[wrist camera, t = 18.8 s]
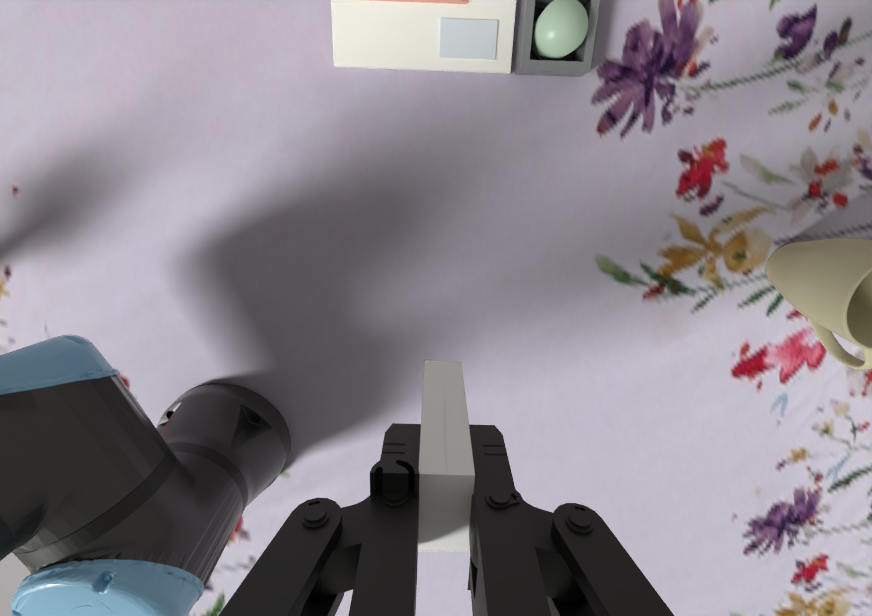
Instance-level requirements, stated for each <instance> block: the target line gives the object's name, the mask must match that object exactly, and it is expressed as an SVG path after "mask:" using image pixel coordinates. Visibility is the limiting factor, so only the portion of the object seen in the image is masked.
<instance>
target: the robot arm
mask: <svg viewBox="0 0 872 616" xmlns="http://www.w3.org/2000/svg"><path fill="white" fill-rule="evenodd" d="M119 374H120V373H119V371H118V370H117V369H113V368H112V367H111V366H110V364H109V363H108V362H107V361H106V359H105V358H104V357H103V356H102V354H101V353H100V352H99V351H98V349H97V348H96V347H95V346H94V345H93V344H92V342H90V341H89V340H87V339H85V338H83V337H80V336H76V335H62V336H58V337H54V338H51V339H48V340H45V341H42V342H39V343H36V344H33V345H30V346H27V347H24V348H21V349H18V350H15V351H12V352H9V353H6V354H3V355H0V561H1V560H2V559H3V558H5V557H6V556H7V555H8V554H10V553H11V552H13V553H14V554H15V555H16V556H17V557H18V558H19V560H21V562H22V563H23V564H24V565H25V566H26V567H27V568H28V569H29V571H30V572H31V575H29V576H27V577H26V578H25V579H24V580H23V581H22V582H21V583H20V584H19V587H18V588H17V592H16V593H15V595H14V596H13V599H12V601H11V608H12V616H187V615H188V614H189V612H190V610H191V609H192V607H193V605H194V604H195V602H196V601H198V600H199V598H200V597H201V596H202V593H203V591H204V587H205V585H206V584H207V582H208V580H209V578H210V576H211V574H212V572H213V570H214V568H215V566H216V564H217V562H218V560H219V558H220V556H221V554H222V552H223V550H224V548H225V546H226V544H227V542H228V540H229V538H230V536H231V535H232V533H233V531H234V529H235V527H236V525H237V523H238V521H239V519H240V517H241V515H242V513H243V511H244V509H245V507H246V506H247V505H248V504H250V503H251V502H252V501H253V500H254V499H255V498H256V497H257V496H258V495H259V494H260V493H261V492H262V491H264V490H265V489H266V488H267V487H269V486H270V485H271V484H272V483H273V482H274V481H275V480H276V478H277V477H278V475H279V474H280V472H281V470H282V468H283V466H284V464H285V462H286V460H287V458H288V455H289V451H290V436H289V431H288V428H287V426H286V423H285V422H284V420H283V418H282V416H281V415H280V414H279V412H278V411H277V410H276V409H275V408H274V407H273V406H272V405H271V404H270V403H269V402H268V401H267V400H265V399H264V398H262V397H261V396H259V395H258V394H256V393H254V392H252V391H250V390H247V389H245V388H241V387H238V386H234V385H228V384H209V385H203V386H199V387H196V388H193V389H191V390H189V391H187V392H186V393H184V394H183V395H181V396H180V397H179V398H178V399H177V400H176V401H175V402H174V403H173V404H172V405H171V406H170V407H169V408H168V409H167V410H166V411H165V413H164V414H163V416H162V417H161V419H160V421H159V423H158V426H157V428H155V427H154V425H153V424H152V422H151V421H150V419H149V418H148V416H147V415H146V414H145V412H144V411H143V409H142V408H141V406H140V405H139V404H138V402H137V401H136V399H135V398H134V396H133V395H132V394H131V392H130V391H129V389H128V388H127V386H126V385H125V384H124V382H123V381H122V379H121V378H120V376H119ZM469 544H470V555H471V556H470V568H469V581H468V590H471V598H472V611H473V616H674V615H673V613H672V612H671V611H670V609H669V608H668V607H667V605H666V604H665V603H664V601H663V600H662V599H661V597H660V596H659V595H658V593H657V592H656V591H655V589H654V588H653V587H652V585H651V584H650V583H649V581H648V580H647V579H646V577H645V576H644V574H643V573H642V572H641V570H640V569H639V568H638V566H637V565H636V564H635V562H634V561H633V560H632V558H631V557H630V556H629V554H628V553H627V552H626V550H625V549H624V548H623V546H622V545H621V544H620V542H619V541H618V540H617V538H616V537H615V535H614V534H613V533H612V531H611V530H610V529H609V527H608V526H607V525H606V523H605V522H604V521H603V519H602V518H601V517H600V516H599V515H598V514H597V513H596V512H595V511H593V510H592V509H590V508H588V507H586V506H584V505H580V504H576V503H566V504H563V505H560V506H558V508H557V509H556V510H555V511H554V513H552V512H548V511H545V510H541V509H538V508H536V507H533V506H531V505H530V504H528V503H526V502H525V501H524V500H523V499H522V497H521V495H520V493H519V492H517V491H516V489H515V486H514V482H513V478H512V473H511V469H510V465H509V460H508V456H507V452H506V447H505V443H504V439H503V435H502V434H501V432H500V431H499V430H498V429H497V428H496V427H495V425H469V421H468V413H467V405H466V396H465V388H464V379H463V371H462V363H461V361H436V360H424V378H423V397H422V416H421V424H392V425H391V426H390V428H389V429H388V430H387V431H386V432H385V437H384V442H383V448H382V454H381V459H380V461H378V462H377V463H376V464H375V465H374V466H373V467H372V469H371V471H370V496H369V497H368V498H366V499H365V500H363V501H362V502H360V503H358V504H355V505H352V506H347V507H343V508H340V506H339V505H338V504H337V503H336V502H335V501H333V500H330V499H328V498H315V499H311V500H307V501H305V502H304V503H302V504H300V505H299V506H298V507H297V508H296V509H295V510H294V511H293V512H292V513H291V514H290V516H289V517H288V519H287V520H286V521H285V523H284V524H283V526H282V527H281V528H280V530H279V531H278V533H277V534H276V535H275V537H274V538H273V540H272V541H271V542H270V544H269V545H268V547H267V548H266V550H265V551H264V552H263V554H262V555H261V557H260V558H259V559H258V561H257V562H256V564H255V565H254V566H253V568H252V569H251V571H250V572H249V573H248V575H247V576H246V578H245V579H244V581H243V582H242V583H241V585H240V586H239V588H238V589H237V590H236V592H235V593H234V595H233V596H232V597H231V599H230V600H229V602H228V603H227V604H226V606H225V607H224V609H223V610H222V612H221V613H220V614H219V616H335V614H336V612H337V609H338V607H339V605H340V603H341V601H342V599H343V596H344V592H346V591H349V590H352V589H353V595H352V600H351V606H350V611H349V616H415V609H416V585H417V555H418V551H438V552H469Z"/></svg>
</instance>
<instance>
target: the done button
mask: <svg viewBox="0 0 872 616" xmlns="http://www.w3.org/2000/svg"><path fill="white" fill-rule="evenodd" d="M587 30H588V16H587V12H586V10H585V8H584V7H583V5H582V4H581V3H580V2H579V1H577V0H554V1H553V2H551V3H550V4H549V5H548V6H547V7H546V8H545V9H544V11H543V12H542V13H541V15H540V16H539V17H538V18H537V20H536V21H535V23H534V24H533V30H532V40H531V47H532V50H533V52H534V53H535V55H536V56H537V57H538V58H539V59H541V60H551V61H559V60H561V59H562V58H564V57H565V56H567V55H568V54H569V53H571V52H572V51H574V50H575V49H576V48H577V47H579V45H580V44H581V43H582V42H583V40H584V38H585V36H586V33H587Z"/></svg>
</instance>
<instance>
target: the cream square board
mask: <svg viewBox="0 0 872 616" xmlns="http://www.w3.org/2000/svg"><path fill="white" fill-rule="evenodd" d="M331 9H332V33H333V57H334V67H336V68H363V69H389V70H416V71H442V72H469V73H495V74H510V71H511V59H512V46H513V34H514V22H515V10H516V0H331Z"/></svg>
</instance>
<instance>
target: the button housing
mask: <svg viewBox="0 0 872 616" xmlns="http://www.w3.org/2000/svg"><path fill="white" fill-rule="evenodd" d="M553 1H554V0H521V6H520V18H519V29H518V41H517V53H516V65H515V74H522V75H548V76H575V77H580V76H582V75H584V74H586V73H588V72H590V70H591V63H592V55H593V48H594V41H595V34H596V26H597V19H598V12H599V5H600V0H577V1H579V2H580V3H581V4H582V5H583V7H584V8H585V10H586V12H587V16H588V30H587V33H586V36H585V38H584V40H583V42H582V43H581V44H580V45H579V47H577V48H576V49H575V56H574V61H551V60H530V51H531V40H532V30H533V19H534V9H535V7H544V8H546V7H547V6H548V5H549V4H550V3H551V2H553Z"/></svg>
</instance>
